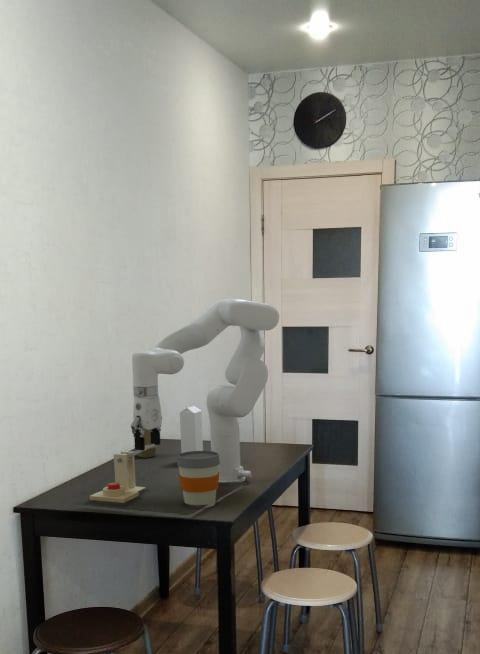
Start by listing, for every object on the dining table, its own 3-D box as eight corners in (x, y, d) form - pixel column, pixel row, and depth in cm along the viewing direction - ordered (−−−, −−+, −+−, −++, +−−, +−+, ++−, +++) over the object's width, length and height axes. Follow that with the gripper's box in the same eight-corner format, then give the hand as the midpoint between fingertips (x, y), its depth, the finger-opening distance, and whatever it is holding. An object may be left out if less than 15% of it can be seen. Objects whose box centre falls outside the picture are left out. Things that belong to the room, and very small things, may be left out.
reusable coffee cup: (226, 507, 247) (224, 457, 245) (184, 511, 244) (181, 460, 241) (215, 497, 259) (213, 449, 257) (174, 501, 256) (172, 452, 253)
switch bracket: (146, 490, 270) (144, 451, 268) (133, 496, 263) (131, 456, 260) (119, 488, 274) (116, 449, 272) (105, 494, 267) (103, 454, 264)
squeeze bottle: (161, 455, 325) (159, 408, 322) (148, 459, 318) (146, 411, 315) (145, 453, 329) (143, 407, 326) (131, 457, 323) (129, 410, 319)
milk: (203, 461, 312) (201, 402, 308) (196, 464, 307) (194, 404, 303) (188, 460, 315) (186, 401, 311) (181, 463, 309) (179, 403, 305)
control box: (139, 498, 260) (138, 486, 260) (123, 506, 252) (123, 492, 251) (105, 495, 265) (105, 483, 264) (89, 502, 257) (88, 490, 256)
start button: (122, 488, 259) (121, 482, 259) (115, 491, 256) (115, 485, 255) (112, 487, 260) (111, 481, 260) (105, 490, 257) (105, 484, 257)
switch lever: (156, 447, 264) (152, 440, 264) (148, 451, 260) (144, 443, 260) (126, 462, 269) (123, 455, 269) (118, 465, 265) (114, 458, 265)
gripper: (142, 395, 250) (144, 453, 253) (170, 389, 265) (171, 443, 268) (120, 394, 253) (122, 451, 256) (149, 388, 268) (151, 441, 271)
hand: (147, 447), depth 262 cm, fingers open, 9 cm apart
